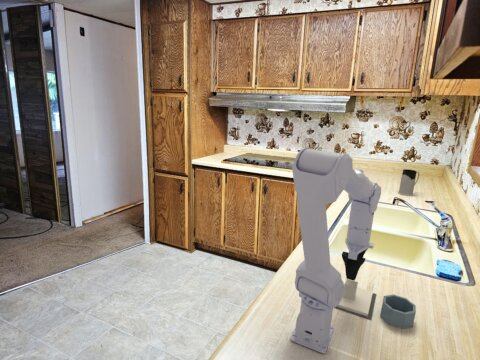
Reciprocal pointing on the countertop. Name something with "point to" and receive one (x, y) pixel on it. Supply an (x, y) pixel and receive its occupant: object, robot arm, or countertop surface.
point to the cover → (356, 298)
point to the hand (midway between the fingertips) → (353, 272)
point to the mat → (360, 314)
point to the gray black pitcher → (408, 182)
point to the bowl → (398, 311)
